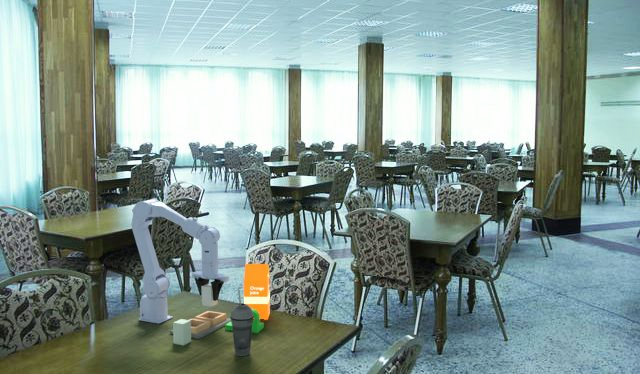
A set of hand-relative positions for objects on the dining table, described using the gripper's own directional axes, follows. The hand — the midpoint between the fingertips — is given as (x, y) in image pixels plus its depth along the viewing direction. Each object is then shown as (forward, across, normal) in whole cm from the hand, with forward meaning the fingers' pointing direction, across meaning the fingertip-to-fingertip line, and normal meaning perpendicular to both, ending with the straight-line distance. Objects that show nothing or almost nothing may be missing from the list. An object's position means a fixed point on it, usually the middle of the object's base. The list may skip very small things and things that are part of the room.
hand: (210, 299), depth 207 cm
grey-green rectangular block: (+2, 0, 0) cm, 2 cm away
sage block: (+9, +3, -20) cm, 22 cm away
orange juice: (+9, +11, +14) cm, 20 cm away
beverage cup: (+9, +26, -20) cm, 34 cm away
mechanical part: (+9, +14, 0) cm, 17 cm away
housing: (+9, 0, -5) cm, 10 cm away
